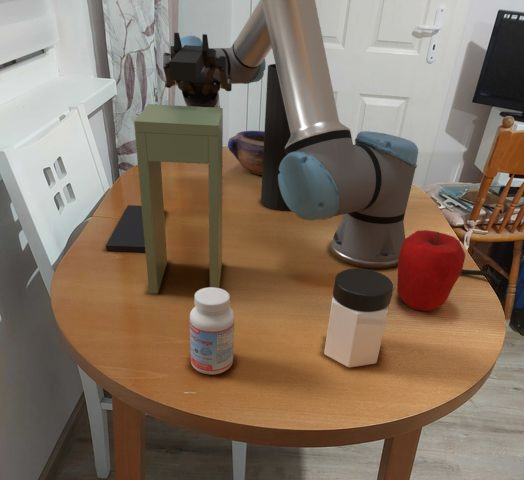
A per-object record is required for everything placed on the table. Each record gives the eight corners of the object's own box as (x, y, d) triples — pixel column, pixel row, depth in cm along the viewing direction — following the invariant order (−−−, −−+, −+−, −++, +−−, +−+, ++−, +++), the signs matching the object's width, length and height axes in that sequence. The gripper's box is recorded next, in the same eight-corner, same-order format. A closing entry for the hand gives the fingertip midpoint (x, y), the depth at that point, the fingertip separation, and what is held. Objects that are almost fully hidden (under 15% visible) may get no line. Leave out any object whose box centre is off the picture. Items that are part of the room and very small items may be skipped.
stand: (159, 262, 99) (147, 103, 83) (221, 264, 100) (222, 107, 83) (149, 293, 90) (133, 121, 73) (218, 295, 90) (218, 125, 74)
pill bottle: (182, 361, 74) (178, 293, 68) (214, 345, 78) (214, 279, 71) (209, 382, 71) (208, 312, 64) (242, 364, 75) (244, 296, 68)
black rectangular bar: (185, 60, 96) (184, 45, 95) (206, 61, 97) (206, 46, 95) (170, 80, 79) (169, 61, 77) (196, 81, 79) (196, 62, 77)
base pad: (128, 210, 120) (127, 205, 119) (162, 211, 120) (162, 206, 120) (106, 250, 102) (105, 245, 101) (147, 252, 102) (146, 247, 102)
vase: (309, 208, 127) (324, 70, 109) (272, 212, 123) (281, 71, 106) (289, 194, 134) (300, 63, 117) (254, 198, 131) (260, 63, 113)
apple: (378, 294, 94) (393, 222, 86) (425, 286, 97) (443, 217, 89) (411, 324, 86) (430, 249, 78) (461, 315, 89) (485, 242, 81)
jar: (390, 352, 79) (407, 283, 72) (360, 375, 74) (375, 303, 67) (343, 328, 84) (354, 261, 77) (311, 349, 79) (321, 278, 72)
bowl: (306, 170, 152) (310, 134, 146) (275, 185, 139) (277, 147, 133) (255, 158, 159) (256, 123, 153) (221, 171, 146) (221, 134, 141)
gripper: (240, 115, 111) (240, 68, 87) (160, 111, 110) (138, 62, 87) (241, 79, 110) (242, 21, 87) (161, 74, 109) (139, 15, 86)
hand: (190, 42), depth 87 cm, fingers closed on black rectangular bar, 4 cm apart
